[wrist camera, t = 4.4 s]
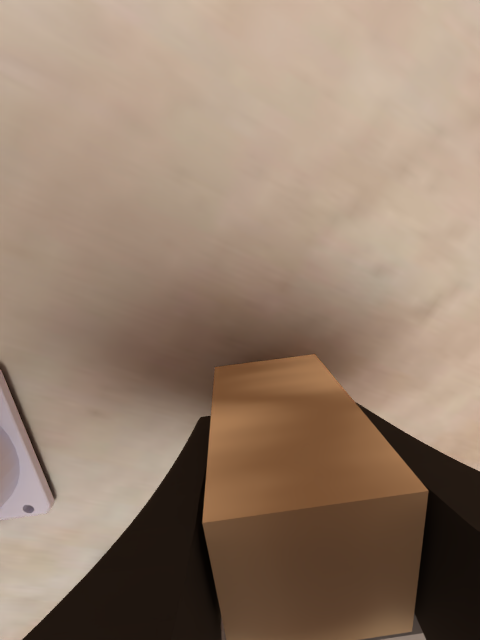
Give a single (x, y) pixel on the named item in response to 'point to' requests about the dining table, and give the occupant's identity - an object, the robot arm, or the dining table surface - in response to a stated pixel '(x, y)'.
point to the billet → (307, 509)
